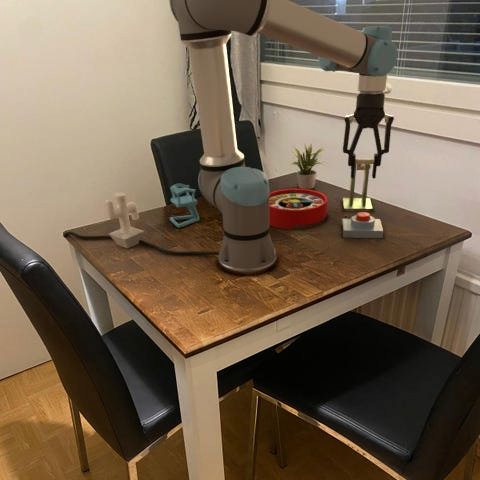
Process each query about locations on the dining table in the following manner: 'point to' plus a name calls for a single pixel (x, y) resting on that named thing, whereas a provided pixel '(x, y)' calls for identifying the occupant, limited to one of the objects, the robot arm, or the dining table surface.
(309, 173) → the house plant
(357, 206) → the frame stand
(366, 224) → the button box
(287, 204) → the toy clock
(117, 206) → the figurine
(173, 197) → the chair
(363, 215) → the button
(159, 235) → the dining table surface
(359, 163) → the lever
